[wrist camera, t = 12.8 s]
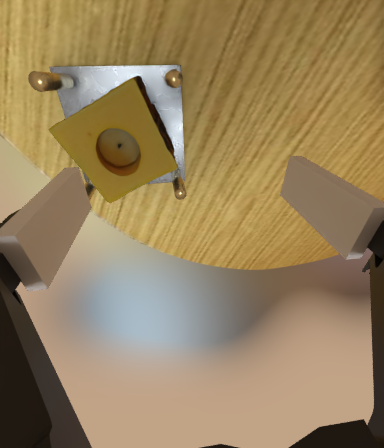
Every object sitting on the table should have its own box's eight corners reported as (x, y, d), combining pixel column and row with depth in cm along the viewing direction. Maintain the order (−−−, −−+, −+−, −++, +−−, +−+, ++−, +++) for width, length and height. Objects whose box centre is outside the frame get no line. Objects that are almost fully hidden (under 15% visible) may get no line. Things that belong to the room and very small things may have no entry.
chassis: (54, 67, 27) (13, 62, 19) (179, 65, 29) (188, 60, 21) (90, 184, 36) (72, 213, 28) (183, 177, 38) (191, 203, 30)
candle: (139, 74, 27) (133, 71, 19) (175, 146, 33) (182, 167, 25) (74, 112, 29) (42, 125, 20) (119, 175, 34) (108, 205, 26)
